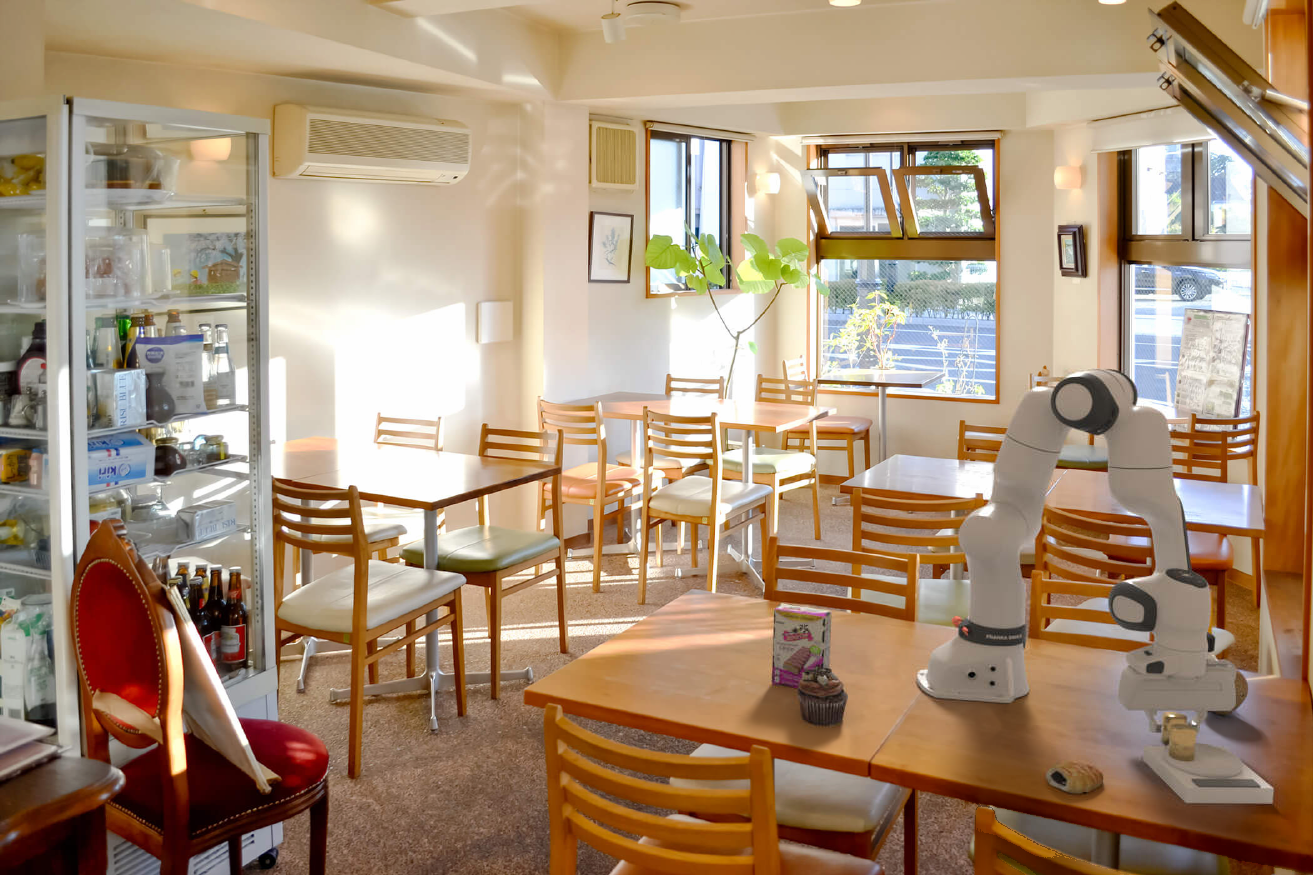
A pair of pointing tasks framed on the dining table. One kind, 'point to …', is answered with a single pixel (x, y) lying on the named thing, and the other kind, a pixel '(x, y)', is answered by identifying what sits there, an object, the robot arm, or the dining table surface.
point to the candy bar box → (799, 642)
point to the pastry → (1074, 777)
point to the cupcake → (821, 697)
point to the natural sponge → (1238, 692)
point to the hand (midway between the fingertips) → (1174, 731)
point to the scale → (1209, 776)
